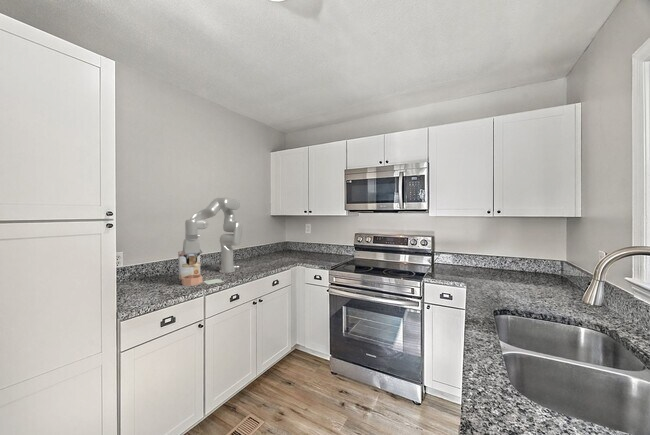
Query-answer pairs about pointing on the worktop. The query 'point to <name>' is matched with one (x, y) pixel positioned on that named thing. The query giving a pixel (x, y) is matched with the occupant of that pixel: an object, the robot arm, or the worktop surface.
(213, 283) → the mat
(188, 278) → the bowl
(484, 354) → the worktop surface
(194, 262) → the lid
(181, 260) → the cracker box
